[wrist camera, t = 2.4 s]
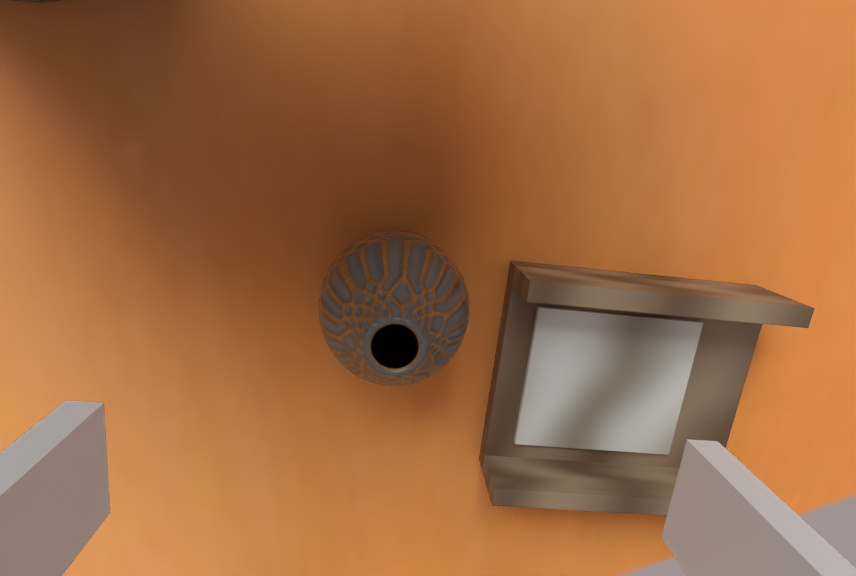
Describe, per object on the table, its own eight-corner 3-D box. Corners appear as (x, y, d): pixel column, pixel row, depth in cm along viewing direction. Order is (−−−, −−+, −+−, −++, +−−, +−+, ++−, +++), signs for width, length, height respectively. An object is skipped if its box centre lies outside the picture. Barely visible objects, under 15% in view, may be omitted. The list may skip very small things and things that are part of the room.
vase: (396, 370, 29) (397, 462, 21) (301, 288, 28) (261, 351, 19) (485, 284, 28) (523, 344, 20) (392, 193, 27) (391, 216, 18)
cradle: (479, 458, 31) (491, 505, 27) (510, 260, 28) (530, 280, 24) (703, 472, 32) (747, 520, 28) (756, 285, 29) (814, 308, 25)
